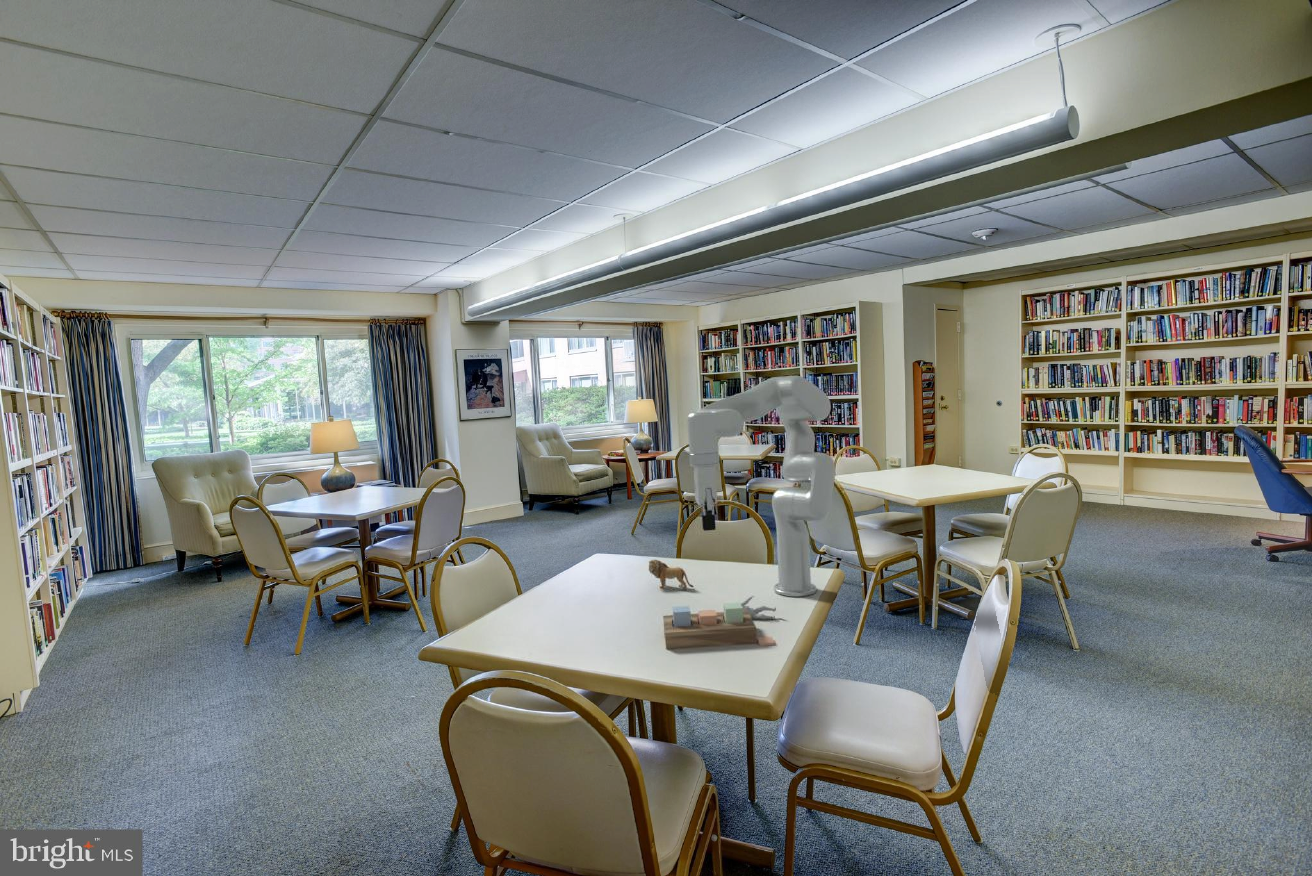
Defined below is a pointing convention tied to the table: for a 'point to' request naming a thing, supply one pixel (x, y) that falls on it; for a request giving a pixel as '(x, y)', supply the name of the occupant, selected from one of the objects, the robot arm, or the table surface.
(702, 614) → the salmon pink rectangular block
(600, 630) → the table surface
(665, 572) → the lion figurine
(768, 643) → the tile
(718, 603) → the table surface
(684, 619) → the light blue block
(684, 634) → the board
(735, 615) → the mint green block
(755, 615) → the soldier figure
